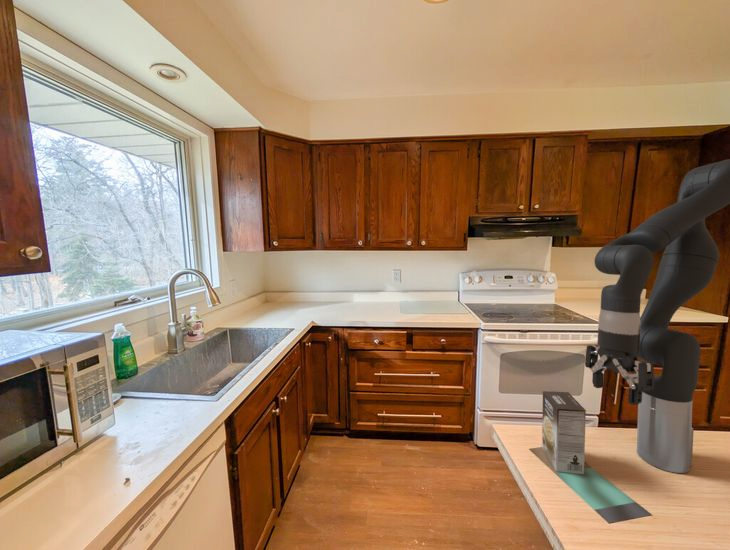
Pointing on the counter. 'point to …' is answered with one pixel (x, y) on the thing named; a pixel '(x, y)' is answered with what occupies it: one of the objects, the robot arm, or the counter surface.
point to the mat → (597, 492)
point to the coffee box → (563, 431)
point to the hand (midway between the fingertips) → (614, 395)
